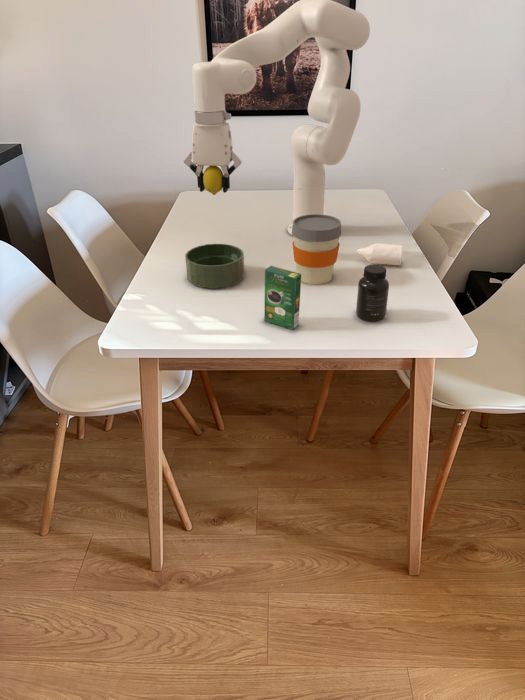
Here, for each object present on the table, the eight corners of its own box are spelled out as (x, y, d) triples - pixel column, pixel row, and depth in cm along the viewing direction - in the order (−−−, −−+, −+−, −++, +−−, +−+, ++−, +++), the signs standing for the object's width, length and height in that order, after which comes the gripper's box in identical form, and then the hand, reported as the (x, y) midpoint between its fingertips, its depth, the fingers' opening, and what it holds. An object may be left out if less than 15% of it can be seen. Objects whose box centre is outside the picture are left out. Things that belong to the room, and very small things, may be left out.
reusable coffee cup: (306, 291, 141) (308, 234, 133) (282, 273, 150) (282, 218, 142) (347, 281, 146) (352, 225, 138) (321, 264, 155) (324, 211, 147)
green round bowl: (248, 267, 154) (247, 244, 150) (239, 291, 141) (238, 267, 138) (194, 264, 156) (193, 242, 152) (181, 288, 143) (178, 264, 140)
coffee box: (300, 326, 126) (302, 272, 119) (294, 331, 124) (295, 277, 117) (270, 316, 130) (270, 264, 123) (263, 322, 128) (263, 269, 121)
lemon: (221, 198, 146) (219, 167, 142) (201, 197, 147) (199, 166, 143) (227, 192, 151) (225, 162, 147) (207, 191, 152) (205, 161, 148)
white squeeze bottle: (356, 257, 159) (358, 238, 156) (400, 260, 157) (402, 241, 154) (355, 265, 154) (356, 246, 151) (399, 269, 152) (402, 249, 149)
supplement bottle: (352, 309, 132) (356, 262, 126) (381, 308, 133) (386, 261, 126) (359, 324, 126) (363, 275, 120) (389, 322, 127) (395, 274, 120)
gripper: (246, 116, 141) (248, 188, 150) (180, 114, 143) (186, 185, 153) (241, 121, 135) (243, 196, 144) (172, 120, 137) (178, 193, 146)
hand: (214, 190), depth 148 cm, fingers closed on lemon, 5 cm apart
